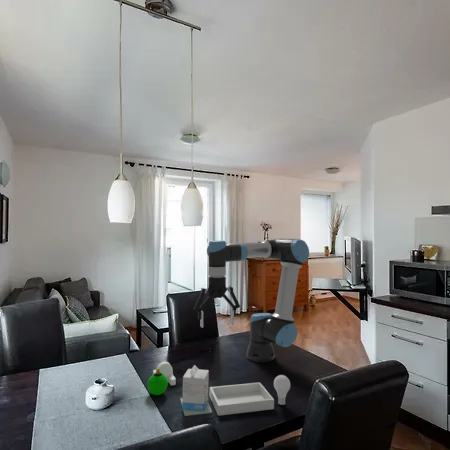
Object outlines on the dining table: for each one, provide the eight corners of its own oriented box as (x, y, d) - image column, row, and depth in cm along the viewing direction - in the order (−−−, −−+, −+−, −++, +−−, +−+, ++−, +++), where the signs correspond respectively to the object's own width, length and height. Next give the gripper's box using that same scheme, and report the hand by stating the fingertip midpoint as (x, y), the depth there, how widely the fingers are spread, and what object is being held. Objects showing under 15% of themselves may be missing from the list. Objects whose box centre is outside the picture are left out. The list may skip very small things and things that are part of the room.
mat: (205, 396, 130) (205, 395, 130) (212, 412, 118) (212, 411, 119) (180, 399, 127) (180, 398, 127) (184, 415, 116) (184, 414, 116)
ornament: (148, 389, 135) (149, 365, 135) (168, 389, 135) (169, 365, 136) (145, 399, 127) (146, 373, 127) (166, 399, 127) (167, 373, 128)
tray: (259, 390, 136) (259, 382, 137) (273, 408, 122) (274, 399, 122) (209, 396, 131) (209, 387, 131) (218, 415, 117) (218, 405, 117)
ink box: (204, 411, 118) (205, 374, 119) (181, 409, 119) (182, 372, 120) (208, 400, 127) (209, 365, 127) (187, 398, 128) (188, 363, 128)
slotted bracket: (152, 375, 149) (153, 358, 149) (167, 373, 152) (167, 356, 152) (160, 388, 137) (160, 369, 137) (176, 385, 140) (176, 366, 140)
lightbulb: (271, 400, 128) (272, 372, 129) (287, 400, 129) (287, 372, 129) (275, 409, 122) (276, 379, 123) (292, 408, 123) (292, 379, 123)
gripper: (241, 274, 148) (241, 320, 148) (187, 276, 141) (187, 325, 141) (247, 276, 141) (247, 325, 141) (190, 278, 134) (190, 330, 134)
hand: (217, 325), depth 141 cm, fingers open, 13 cm apart
